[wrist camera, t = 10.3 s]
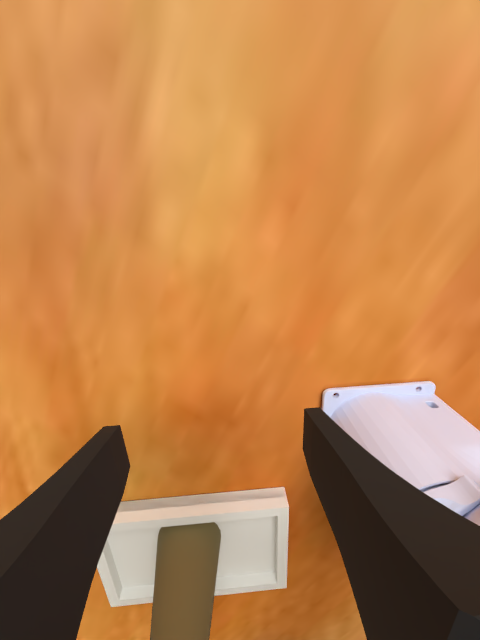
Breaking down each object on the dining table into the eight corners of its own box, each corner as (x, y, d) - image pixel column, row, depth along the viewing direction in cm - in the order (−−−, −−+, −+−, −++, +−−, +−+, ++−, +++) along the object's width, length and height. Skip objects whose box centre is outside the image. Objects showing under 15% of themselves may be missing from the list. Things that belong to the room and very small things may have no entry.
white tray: (284, 486, 27) (289, 507, 25) (282, 565, 31) (286, 587, 29) (92, 504, 26) (82, 526, 24) (117, 582, 30) (111, 607, 28)
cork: (193, 564, 28) (177, 765, 18) (144, 540, 26) (96, 747, 16) (234, 532, 27) (242, 728, 16) (185, 505, 25) (161, 704, 15)
